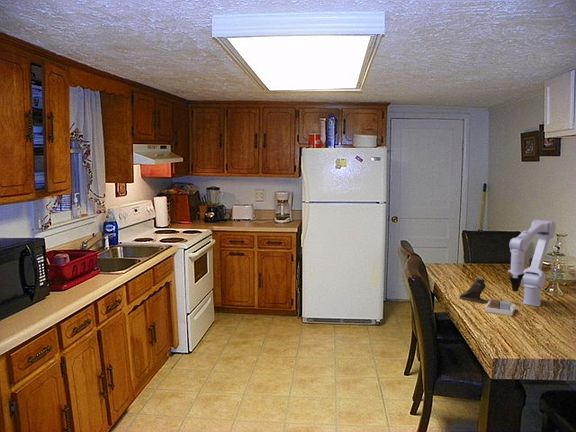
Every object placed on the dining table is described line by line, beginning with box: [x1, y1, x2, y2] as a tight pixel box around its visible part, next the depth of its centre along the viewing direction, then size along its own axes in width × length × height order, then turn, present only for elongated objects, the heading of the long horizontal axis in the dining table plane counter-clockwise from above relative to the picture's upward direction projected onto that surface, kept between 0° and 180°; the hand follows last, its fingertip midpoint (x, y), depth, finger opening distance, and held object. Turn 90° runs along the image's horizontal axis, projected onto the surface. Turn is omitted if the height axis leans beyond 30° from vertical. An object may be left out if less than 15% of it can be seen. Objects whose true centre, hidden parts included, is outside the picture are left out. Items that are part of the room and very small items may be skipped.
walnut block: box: [489, 299, 501, 309], centre depth 219 cm, size 4×4×4 cm
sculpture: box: [459, 277, 487, 305], centre depth 235 cm, size 6×13×13 cm, turn 42°
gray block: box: [500, 300, 512, 311], centre depth 217 cm, size 4×4×4 cm
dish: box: [484, 300, 516, 317], centre depth 218 cm, size 12×12×2 cm
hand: (516, 289), depth 219 cm, fingers open, 7 cm apart
